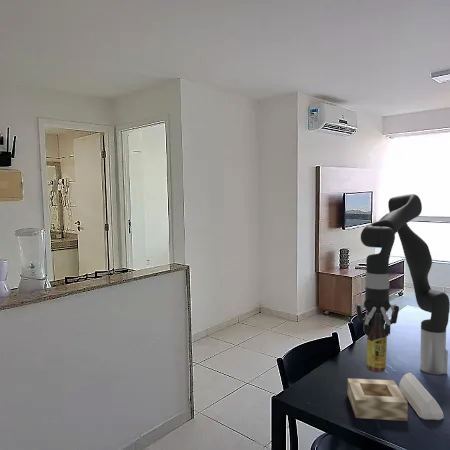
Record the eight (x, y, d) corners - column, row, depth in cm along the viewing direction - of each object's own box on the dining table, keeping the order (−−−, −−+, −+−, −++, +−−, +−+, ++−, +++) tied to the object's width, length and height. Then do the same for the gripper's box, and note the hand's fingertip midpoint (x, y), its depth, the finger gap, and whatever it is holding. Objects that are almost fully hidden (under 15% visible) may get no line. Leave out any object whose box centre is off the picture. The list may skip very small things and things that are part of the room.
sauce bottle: (376, 375, 133) (377, 315, 132) (362, 368, 139) (362, 311, 137) (390, 371, 136) (391, 313, 135) (375, 364, 142) (376, 308, 140)
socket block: (393, 396, 145) (393, 380, 145) (407, 420, 129) (407, 402, 129) (347, 394, 147) (347, 378, 147) (355, 417, 131) (355, 399, 131)
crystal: (453, 412, 127) (422, 378, 151) (432, 400, 128) (405, 368, 152) (440, 431, 128) (412, 394, 152) (420, 419, 128) (395, 385, 152)
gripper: (396, 283, 138) (395, 332, 139) (353, 283, 140) (352, 330, 141) (403, 288, 131) (402, 339, 132) (357, 287, 133) (356, 338, 134)
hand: (376, 334), depth 137 cm, fingers closed on sauce bottle, 5 cm apart
